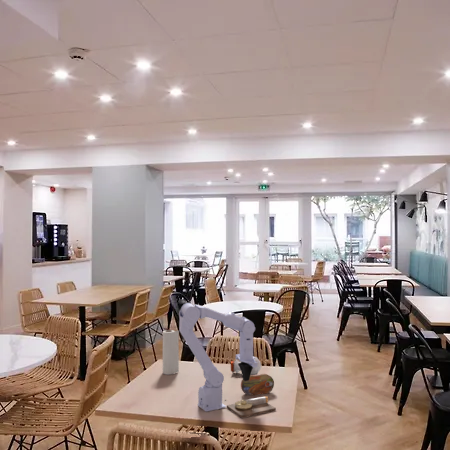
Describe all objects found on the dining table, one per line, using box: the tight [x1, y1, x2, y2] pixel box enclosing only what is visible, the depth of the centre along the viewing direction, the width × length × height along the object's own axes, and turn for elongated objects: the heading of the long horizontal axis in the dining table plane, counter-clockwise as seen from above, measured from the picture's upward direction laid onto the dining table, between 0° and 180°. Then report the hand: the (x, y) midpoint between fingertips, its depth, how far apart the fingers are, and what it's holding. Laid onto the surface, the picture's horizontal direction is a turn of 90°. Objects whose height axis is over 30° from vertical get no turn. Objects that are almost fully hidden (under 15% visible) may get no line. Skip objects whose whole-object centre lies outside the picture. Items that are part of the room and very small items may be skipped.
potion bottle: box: [230, 355, 262, 375], centre depth 236 cm, size 9×10×15 cm
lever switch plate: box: [226, 402, 277, 419], centre depth 190 cm, size 16×12×1 cm
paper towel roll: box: [162, 329, 180, 375], centre depth 238 cm, size 7×6×21 cm
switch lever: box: [234, 396, 269, 410], centre depth 191 cm, size 14×7×2 cm, turn 114°
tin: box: [240, 373, 275, 397], centre depth 208 cm, size 15×3×8 cm, turn 105°
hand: (246, 380), depth 198 cm, fingers closed
